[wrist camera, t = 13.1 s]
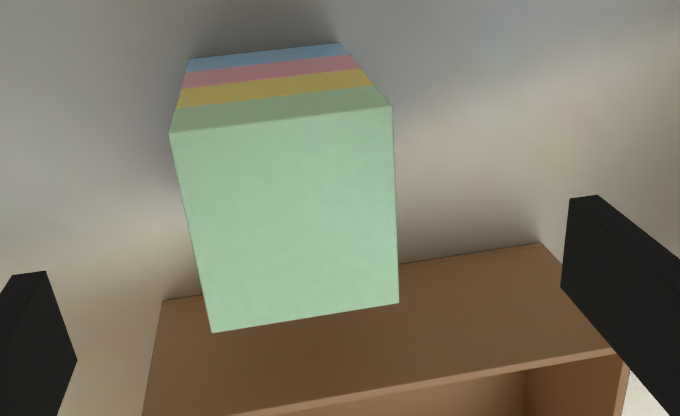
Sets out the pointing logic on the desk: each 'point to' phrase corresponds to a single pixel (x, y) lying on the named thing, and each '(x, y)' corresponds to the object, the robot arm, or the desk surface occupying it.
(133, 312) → the desk surface
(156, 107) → the desk surface
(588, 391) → the carton
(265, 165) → the sticky pads
